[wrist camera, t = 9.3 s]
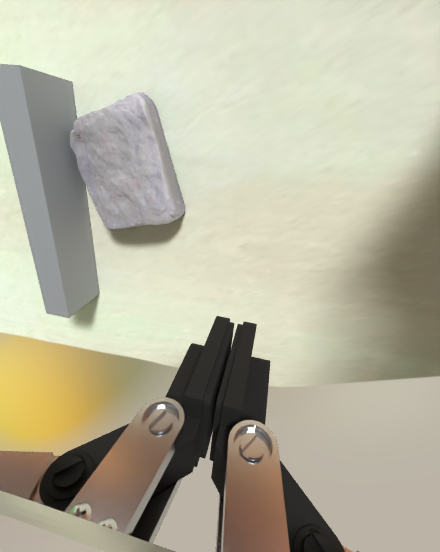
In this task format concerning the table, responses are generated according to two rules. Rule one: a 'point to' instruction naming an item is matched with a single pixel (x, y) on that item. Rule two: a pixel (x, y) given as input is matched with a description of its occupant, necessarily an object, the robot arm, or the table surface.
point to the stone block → (127, 164)
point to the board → (49, 185)
